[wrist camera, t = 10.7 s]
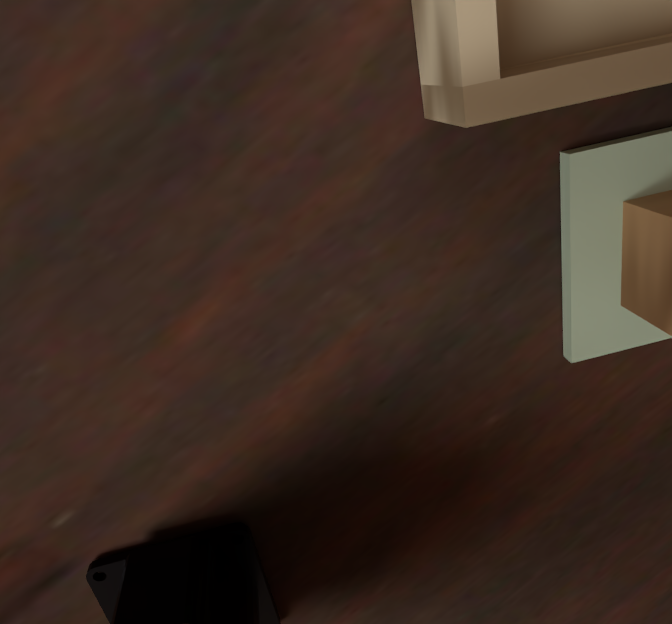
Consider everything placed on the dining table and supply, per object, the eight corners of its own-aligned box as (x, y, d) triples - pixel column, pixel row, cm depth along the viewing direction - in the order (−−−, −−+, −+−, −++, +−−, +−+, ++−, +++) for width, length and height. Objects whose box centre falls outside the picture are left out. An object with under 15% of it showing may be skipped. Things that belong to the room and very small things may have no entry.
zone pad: (748, 309, 23) (761, 315, 22) (563, 356, 22) (571, 363, 21) (776, 103, 19) (792, 103, 19) (559, 151, 19) (569, 154, 18)
